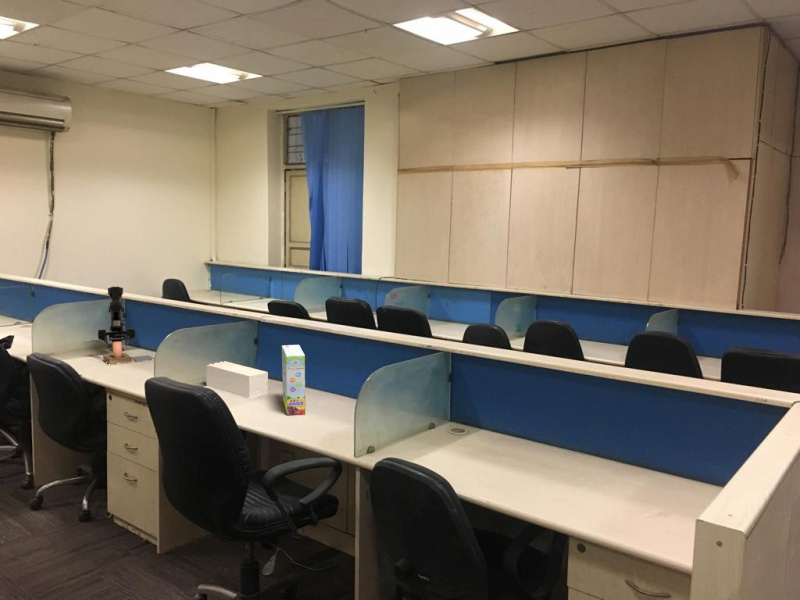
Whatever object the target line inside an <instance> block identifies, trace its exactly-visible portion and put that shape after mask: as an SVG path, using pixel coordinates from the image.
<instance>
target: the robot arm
mask: <svg viewBox="0 0 800 600" xmlns="http://www.w3.org/2000/svg"><path fill="white" fill-rule="evenodd" d="M107 295H108V296H109V300H110V301H111V302H109V306H108V313H109V315H110V326H109V330H108V331H107V329H98V330H97V338H98V340H101V341H103V342H104V343H105V345H106V347H107V348H108V347H109V342H111V348H110V349H109V350H110V351H111V352H113V342H115V341H121V342H122V343H123V341H125V346H126V347H127V346H128V344H129V342H130V341H131V340H133V338H136V329H135V328H134V327H131V328H130V327H129V328H126V330H125V329H124V326H126V319H122V315H123V313H124V312H125V307H124V306H123V305H122V304H123V303H122V302H121V300H122V299H123V297H122V296H123V295H124V287H121V286H110V287H107ZM122 351H125V349H124V348H123V347H122Z"/></svg>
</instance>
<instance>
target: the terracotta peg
mask: <svg viewBox="0 0 800 600" xmlns="http://www.w3.org/2000/svg"><path fill="white" fill-rule="evenodd" d="M122 348H123V341H122V342H121V341H115V342H113V351H112V355H113V358H119V357H122V354H123V350H122Z"/></svg>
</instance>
